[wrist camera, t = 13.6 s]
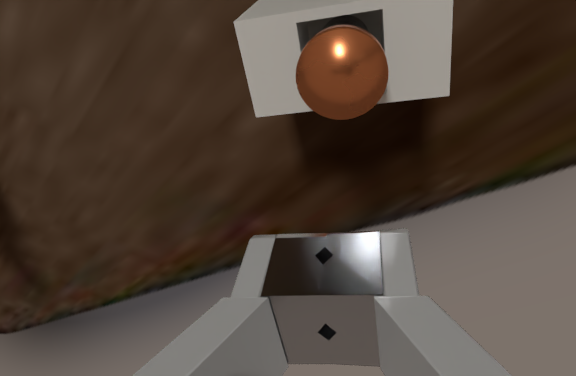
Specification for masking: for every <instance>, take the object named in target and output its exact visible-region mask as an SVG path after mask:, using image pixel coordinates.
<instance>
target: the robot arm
mask: <svg viewBox="0 0 576 376" xmlns="http://www.w3.org/2000/svg"><path fill="white" fill-rule="evenodd" d="M380 247H381V249H380ZM381 261H382V262H381ZM288 364H342V365H343V364H344V365H361V366H379V367H381V370H382V372H383V373H384V375H385V376H512V375H511V374H510V373H509V372H508V371H507V370H506V369H505V368H504V367H503V366H501V365H500V364H499V363H498V362H497V361H496V360H495V359H494V358H493V357H492V356H491V355H490V354H489V353H488V352H487V351H486V350H485V349H484V348H483V347H482V346H481V345H480V344H478V343H477V342H476V341H475V340H474V339H473V338H472V337H471V336H470V335H469V334H468V333H467V332H466V331H465V330H464V329H463V328H462V327H461V326H459V325H458V323H456V322H455V321H454V320H453V319H452V318H451V317H450V316H449V315H448V314H447V313H446V312H445V311H444V310H443V309H442V308H441V307H440V306H439V305H438V304H436V303H435V302H434V301H433V300H432V299H431V298H430V297H429V296H419V291H418V284H417V278H416V272H415V266H414V260H413V254H412V247H411V241H410V235H409V231H408V230H407V228H405V229H404V228H403V229H388V230H380V236H379V231H364V232H344V233H313V234H278V235H254V236H253V237H252V238H251V239H250V240H249V243H248V246H247V249H246V252H245V255H244V258H243V261H242V264H241V267H240V270H239V273H238V276H237V279H236V281H235V284H234V287H233V291H232V293H231V296H230V298H222V299H221V300H220V301H218V302H217V303H216V304H215V305H214V306H212V307H211V308H210V309H209V310H208V311H207V312H206V313H204V314H203V315H202V316H201V317H200V318H199V319H197V320H196V321H195V322H194V323H193V324H192V325H190V326H189V327H188V328H187V329H186V330H185V331H184V332H182V333H181V334H180V335H179V336H178V337H177V338H175V339H174V340H173V341H172V342H171V343H170V344H169V345H167V346H166V347H165V348H164V349H163V350H161V351H160V352H159V353H158V354H157V355H156V356H155V357H153V358H152V359H151V360H150V361H149V362H147V364H145V365H144V366H143V367H142V368H141V369H139V370H138V371H137V372H136V373H135V374H134V375H132V376H282V375H283V374H284V372H285V371H286V370H287V368H288Z"/></svg>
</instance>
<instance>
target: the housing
mask: <svg viewBox="0 0 576 376" xmlns="http://www.w3.org/2000/svg"><path fill="white" fill-rule="evenodd" d="M342 15H351V16H354V17H357V18H359V19H360V20H361V21H362V22H363V23H364V24H365V25H366V27H367V28H368V31H369V33H371V34H372V35H373V36H374V37H375V38H376V39H377V40H378V41H379V43H380V44H381V46H382V48H383V50H384V52H385V55H386V59H387V64H388V71H389V72H388V83H387V86H386V89H385V92H384V94H383V96H382V97H381V99H380V100H379V101H378V103H377V104H380V103H389V102H398V101H407V100H416V99H425V98H434V97H443V96H449V91H450V66H451V41H452V17H453V0H258V1H257V2H256V3H255V4H254V5H252V6H251V7H250V8H249V9H248V10H247V11H245V12H244V13H243V14H242V15H241V16H240V17H239V18H237V19H236V20H235V21H234V26H235V30H236V34H237V39H238V43H239V47H240V51H241V56H242V60H243V64H244V68H245V73H246V77H247V81H248V85H249V89H250V94H251V98H252V102H253V106H254V111H255V115H256V117H264V116H273V115H282V114H291V113H300V112H309V111H313V110H312V109H311V108H309V107H308V106H307V104H306V103H305V102H304V101H303V99H302V98H301V96H300V94H299V91H298V89H297V84H296V67H297V63H298V60H299V57H300V55H301V52H302V50H303V48H304V47H305V45H306V44H307V42H308V41H309V40H310V39H311V38H312V37H313V36H314V35H315V34H317V33H318V32H320V31H321V30H322V29H323V28H324V26H325V25H326V24H327V23H328V22H329V21H330V20H331V19H333V18H335V17H337V16H342Z"/></svg>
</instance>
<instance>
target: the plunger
mask: <svg viewBox="0 0 576 376" xmlns="http://www.w3.org/2000/svg"><path fill="white" fill-rule="evenodd" d="M388 72H389V71H388V64H387V59H386V55H385V52H384V50H383V48H382V46H381V44H380V43H379V41H378V40H377V39H376V38H375V37H374V36H373V35H372V34H371V33H369V31H368V28H367V27H366V25H365V24H364V23H363V22H362V21H361V20H360V19H359V18H357V17H354V16H351V15H342V16H337V17H335V18H333V19H331V20H330V21H329V22H328V23H327V24H326V25H325V26H324V28H323V29H322V30H321V31H320V32H318V33H317V34H315V35H314V36H313V37H312V38H311V39H310V40H309V41H308V42H307V44H306V45H305V47H304V48H303V50H302V52H301V55H300V57H299V60H298V63H297V67H296V84H297V89H298V91H299V94H300V96H301V98H302V99H303V101H304V102H305V103H306V104H307V106H308V107H309V108H311V109H312V110H313V111H314V112H316V113H317V114H319V115H321V116H323V117H327V118H330V119H336V120H346V119H352V118H355V117H358V116H360V115H363V114H364V113H366V112H368V111H369V110H370V109H372V108H373V107H374V106H375V105H376V104H377V103H378V101H379V100H380V99H381V97H382V96H383V94H384V92H385V89H386V86H387V83H388Z"/></svg>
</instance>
